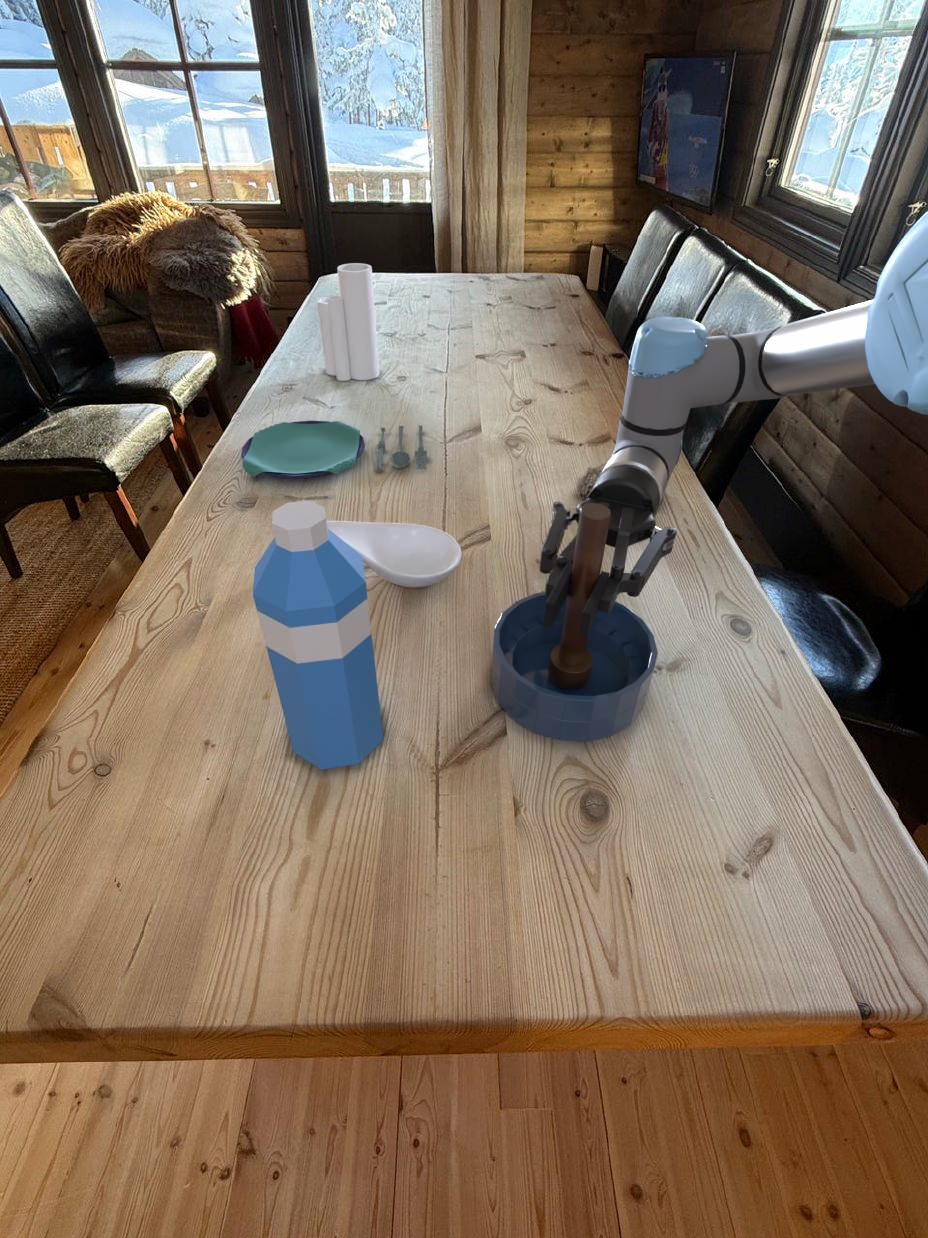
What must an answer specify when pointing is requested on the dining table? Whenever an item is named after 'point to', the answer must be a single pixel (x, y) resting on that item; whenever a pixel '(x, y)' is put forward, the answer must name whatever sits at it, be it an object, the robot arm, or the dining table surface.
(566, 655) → the pestle
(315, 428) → the cutlery set
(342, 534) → the spoon rest
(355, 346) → the vase
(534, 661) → the bowl
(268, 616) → the water bottle
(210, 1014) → the dining table surface
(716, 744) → the dining table surface
